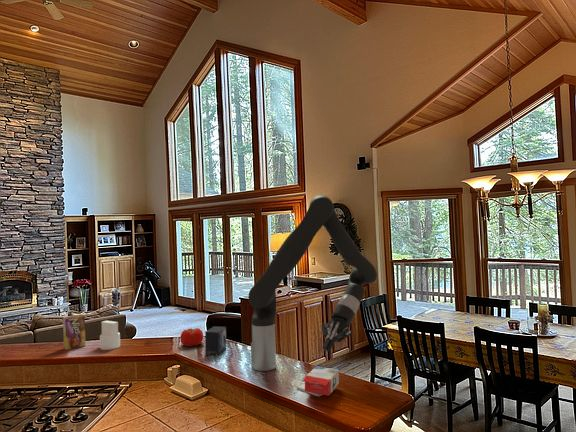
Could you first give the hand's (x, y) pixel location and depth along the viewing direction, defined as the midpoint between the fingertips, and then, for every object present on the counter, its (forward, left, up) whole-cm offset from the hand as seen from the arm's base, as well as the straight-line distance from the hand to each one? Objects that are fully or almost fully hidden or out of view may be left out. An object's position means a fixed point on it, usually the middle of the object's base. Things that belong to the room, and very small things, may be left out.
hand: (325, 350), depth 149 cm
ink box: (+1, -1, -8) cm, 8 cm away
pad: (0, -6, -12) cm, 14 cm away
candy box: (-122, -45, -12) cm, 131 cm away
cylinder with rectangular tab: (-109, -33, -12) cm, 114 cm away
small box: (-62, -4, -12) cm, 63 cm away
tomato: (-81, -5, -12) cm, 82 cm away
